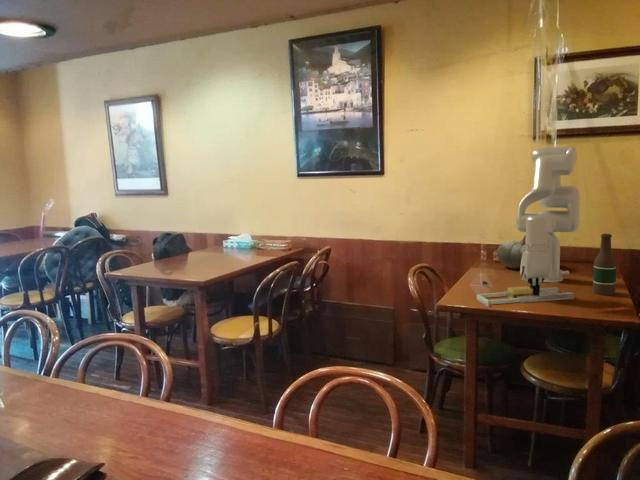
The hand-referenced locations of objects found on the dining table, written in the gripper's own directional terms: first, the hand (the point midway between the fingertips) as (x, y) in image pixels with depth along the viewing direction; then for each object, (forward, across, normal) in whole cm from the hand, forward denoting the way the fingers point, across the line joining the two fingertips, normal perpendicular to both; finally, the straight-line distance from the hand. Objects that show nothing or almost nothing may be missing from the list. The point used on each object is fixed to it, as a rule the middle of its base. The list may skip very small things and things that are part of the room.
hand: (534, 294), depth 188 cm
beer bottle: (+2, -31, -1) cm, 31 cm away
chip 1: (+1, +8, 0) cm, 8 cm away
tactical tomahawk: (+3, +7, -22) cm, 23 cm away
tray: (+2, +16, 0) cm, 16 cm away
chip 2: (+1, +4, 0) cm, 4 cm away
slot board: (+2, -2, 0) cm, 3 cm away
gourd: (+2, -30, -58) cm, 65 cm away
